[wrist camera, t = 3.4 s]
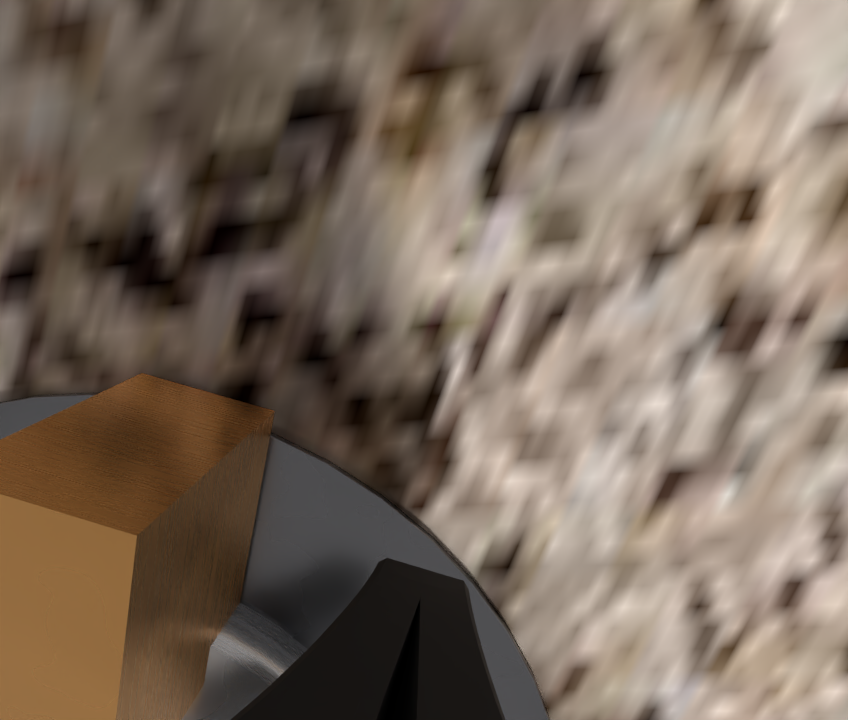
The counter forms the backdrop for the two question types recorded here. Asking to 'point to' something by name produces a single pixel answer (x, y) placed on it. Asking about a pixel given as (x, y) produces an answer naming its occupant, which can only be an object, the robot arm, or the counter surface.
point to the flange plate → (134, 559)
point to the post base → (332, 551)
